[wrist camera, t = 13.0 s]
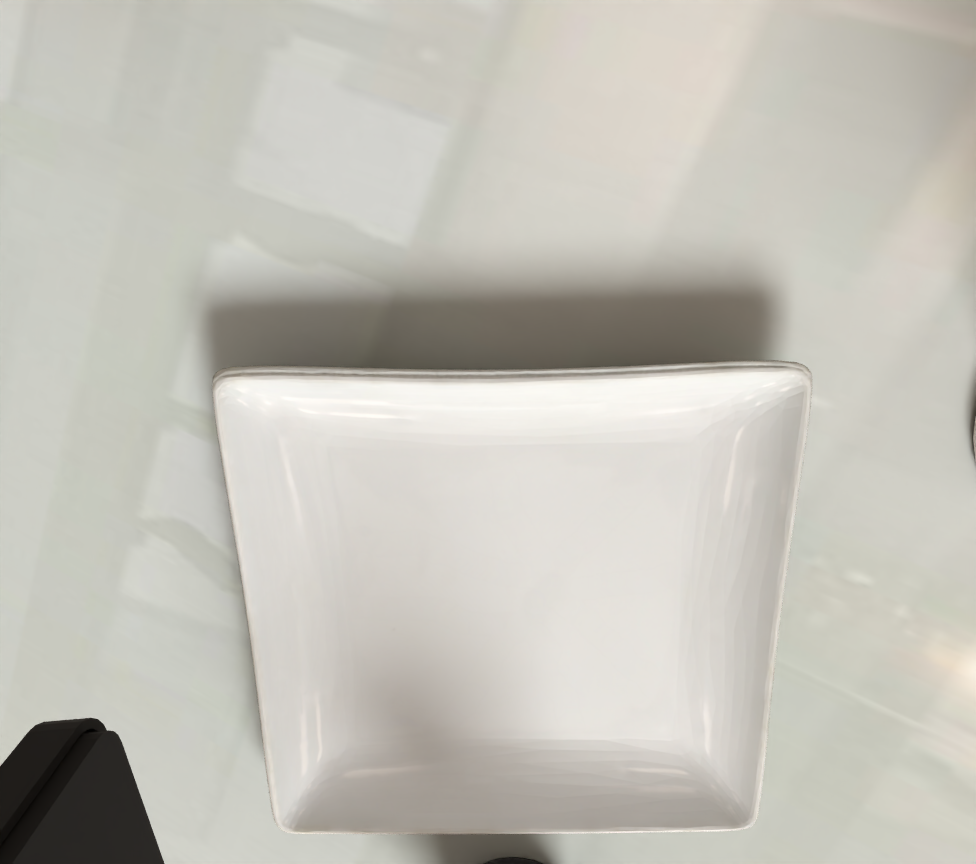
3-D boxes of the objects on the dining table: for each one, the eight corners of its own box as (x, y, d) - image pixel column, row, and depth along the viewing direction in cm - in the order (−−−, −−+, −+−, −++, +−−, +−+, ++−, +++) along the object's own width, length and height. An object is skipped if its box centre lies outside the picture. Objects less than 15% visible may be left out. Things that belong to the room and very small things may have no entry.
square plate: (791, 340, 39) (821, 362, 35) (739, 785, 49) (759, 839, 45) (228, 349, 39) (201, 372, 36) (287, 790, 49) (271, 844, 45)
